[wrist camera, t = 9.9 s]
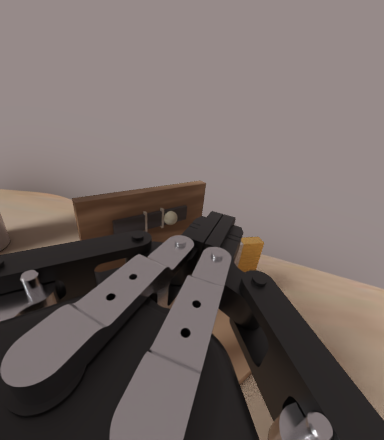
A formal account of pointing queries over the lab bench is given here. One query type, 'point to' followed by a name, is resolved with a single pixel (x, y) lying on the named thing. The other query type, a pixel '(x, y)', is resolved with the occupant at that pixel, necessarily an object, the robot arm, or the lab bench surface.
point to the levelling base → (153, 233)
